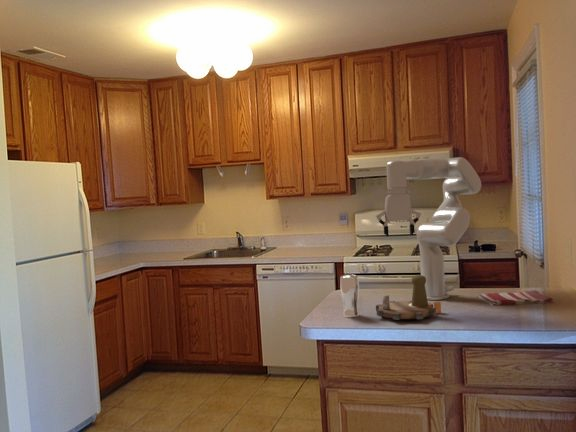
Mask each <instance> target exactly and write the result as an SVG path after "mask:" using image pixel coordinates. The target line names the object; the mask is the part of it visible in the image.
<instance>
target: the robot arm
mask: <svg viewBox="0 0 576 432" xmlns="http://www.w3.org/2000/svg"><path fill="white" fill-rule="evenodd" d="M434 179H435V180H437V179H444V181H443V183H442V195H443V201H442V203H441V204H440V205H439V207H438V208H437V209H436V211H435V212H434V213H433V214H432V216H431V221H430V222H424V223H421V224H420V225H419V226H418V228H417V229H416V230H415V225H416V223H417V222H419V219H420V217H421V216H422V214H421V212H419V211H416V210H415V209H412V203H411V198H410V195H409V194H408V193H411V192H412V189H411V188H410V187H409V188H408V185H407V184H408V183H407V180H434ZM386 182H387V183H386V185H387V186H386V187H387V196H385V199H384V211H382V212H380V213H379V214H377V215H376V216H375V217H376V219H377V220H378V222H379V223H380V224H381V225H382V226H383V235H385V237H389V226H388V224H389V223H390V222H405V221H408V223H409V235H411V236H413V235H414V234H415V231H416V239H417V243H418V249H419V259H420V260H419V261H420V263H419V264H420V275H422V276H425V278H426V283H425V289H426V295H427V300H428V301H440V300H446V299H448V298H449V297H450V295H449V293H448V292H451V291H454V290H455V286H453V285H450V286H447V285H445V284H446V283H445V263H444V258H445V257H444V253H443V250H442V249H441V247H453V246H454V245H456V244H457V243H458V242H459V240H460V239H461V238H462V236H463V235H464V233H466V231H467V229H468V228H469V225H470V223H471V215H470V212H469V211H468V210H467V209H466V208H464V207H463V205H462V202H461V200H460V199H459V195H461V196H462V195H466V196H467V195H475V194H478V193H479V192H480V191H481V188H482V181H481V179H480V176H479V174H478V173H477V172H476V170H475V169H474V168H473V165H472V164H471V163H470V162H469V161H468V160H467V159H466V158H464V157H461V156H459V157H451V158H449V157H448V158H447V157H446V158H426V159H425V158H424V159H418V160H416V159H408V160H407V159H406V160H391V161H388V162H387V163H386ZM413 215H415V217H414V219H413ZM383 216H384V221H383V220H382V217H383Z"/></svg>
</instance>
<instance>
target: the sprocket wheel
mask: <svg viewBox="0 0 576 432" xmlns="http://www.w3.org/2000/svg"><path fill="white" fill-rule="evenodd" d="M381 298H382V304H376V305H375V312H376V316H377V317H386V318H389V319H392V320H395V321H396V320H397V321H398V320H399V319H414V320H424V318H426V317H429V316H436V315H437V314H436V308H434V303H430V302H428V306H426V307H414V306H412V300H409V301H408V300H406V301H405V300H404V301H403V300H402V301H395V300H390V295H388V294H382V296H381ZM399 321H400V320H399Z"/></svg>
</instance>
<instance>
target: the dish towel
mask: <svg viewBox="0 0 576 432" xmlns="http://www.w3.org/2000/svg"><path fill="white" fill-rule="evenodd" d="M477 297H478V298H479V299H481V300H482V301H484V302H486V303H487V304H489V305H491V306H513V305H529V304H531V305H533V303H534V304H545V303H544V302H553V303H554V299H553V297H551V296H547V295H544V294H542V293H541V292H539V291H538V290H527V291H518V292H491V293H490V292H488V293H479V294H477Z"/></svg>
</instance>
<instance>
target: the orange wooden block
mask: <svg viewBox="0 0 576 432" xmlns="http://www.w3.org/2000/svg"><path fill="white" fill-rule="evenodd" d="M433 308H436V314H435V315H437V314H442V303H441V302H440V301H433ZM411 320H412V321H413V320H414V321H415V319H399V321H411Z"/></svg>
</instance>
